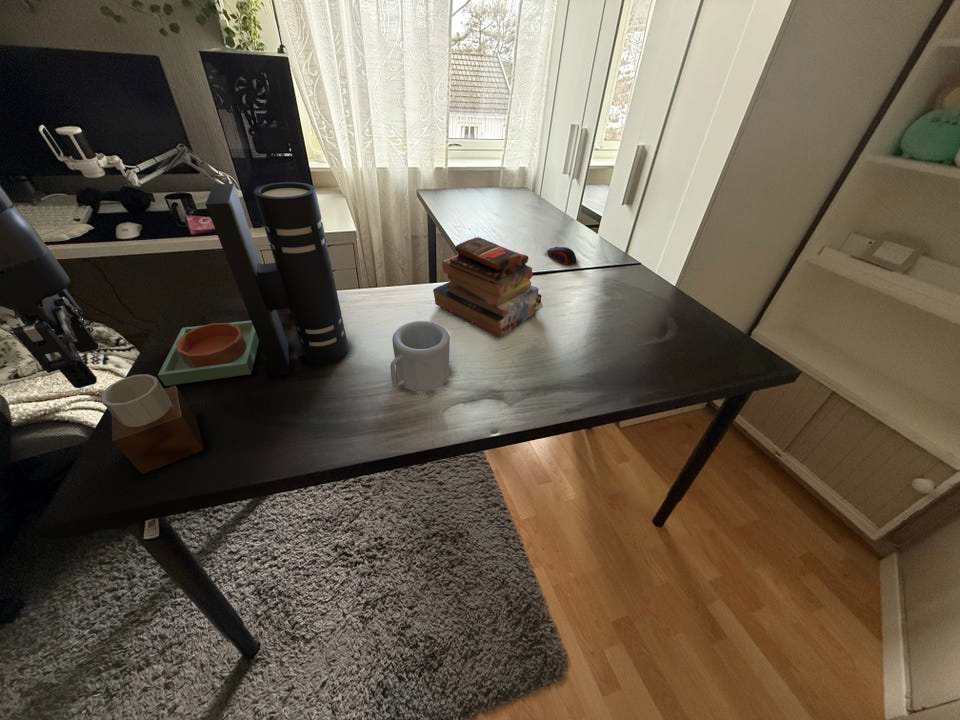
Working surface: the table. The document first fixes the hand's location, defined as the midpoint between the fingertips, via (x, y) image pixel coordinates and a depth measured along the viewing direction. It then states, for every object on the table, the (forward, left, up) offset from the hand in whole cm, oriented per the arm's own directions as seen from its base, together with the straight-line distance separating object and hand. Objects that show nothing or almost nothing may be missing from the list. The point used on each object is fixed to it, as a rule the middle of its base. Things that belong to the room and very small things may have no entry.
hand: (88, 366), depth 51 cm
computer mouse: (+114, +15, -16) cm, 116 cm away
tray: (+13, +18, -16) cm, 27 cm away
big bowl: (+13, +18, -15) cm, 26 cm away
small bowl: (+3, -3, -8) cm, 9 cm away
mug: (+44, -11, -16) cm, 48 cm away
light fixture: (+29, +8, -16) cm, 34 cm away
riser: (+3, -3, -16) cm, 16 cm away
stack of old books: (+72, +2, -16) cm, 74 cm away
